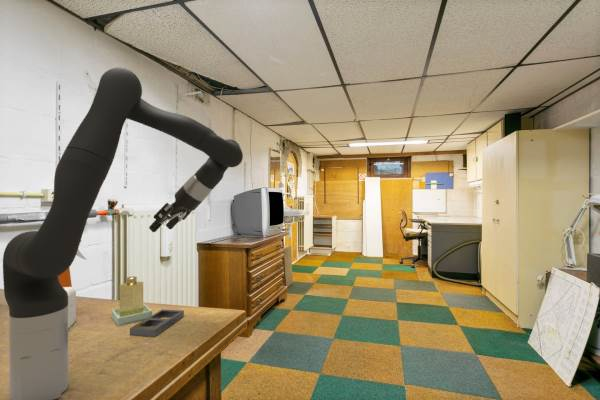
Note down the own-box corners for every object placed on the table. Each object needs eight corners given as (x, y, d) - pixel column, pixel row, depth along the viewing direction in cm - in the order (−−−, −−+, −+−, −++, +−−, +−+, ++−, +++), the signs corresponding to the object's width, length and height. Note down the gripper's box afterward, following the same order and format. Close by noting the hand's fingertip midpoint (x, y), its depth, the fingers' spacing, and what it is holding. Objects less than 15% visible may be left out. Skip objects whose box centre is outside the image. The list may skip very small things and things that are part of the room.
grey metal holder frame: (183, 316, 105) (183, 310, 105) (154, 337, 89) (154, 330, 89) (162, 315, 106) (162, 309, 106) (129, 335, 91) (129, 328, 91)
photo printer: (64, 333, 92) (64, 292, 92) (47, 335, 90) (47, 293, 90) (78, 320, 102) (77, 283, 102) (62, 322, 100) (62, 284, 100)
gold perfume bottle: (143, 313, 106) (143, 275, 106) (133, 319, 101) (133, 279, 101) (130, 312, 107) (130, 275, 107) (119, 318, 102) (119, 279, 102)
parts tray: (151, 318, 103) (151, 310, 103) (117, 326, 97) (117, 318, 97) (143, 310, 111) (143, 303, 111) (111, 317, 104) (111, 309, 104)
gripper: (197, 184, 102) (165, 218, 104) (173, 182, 88) (137, 221, 90) (212, 200, 102) (180, 234, 103) (190, 200, 87) (153, 240, 89)
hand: (160, 228), depth 97 cm, fingers open, 8 cm apart
